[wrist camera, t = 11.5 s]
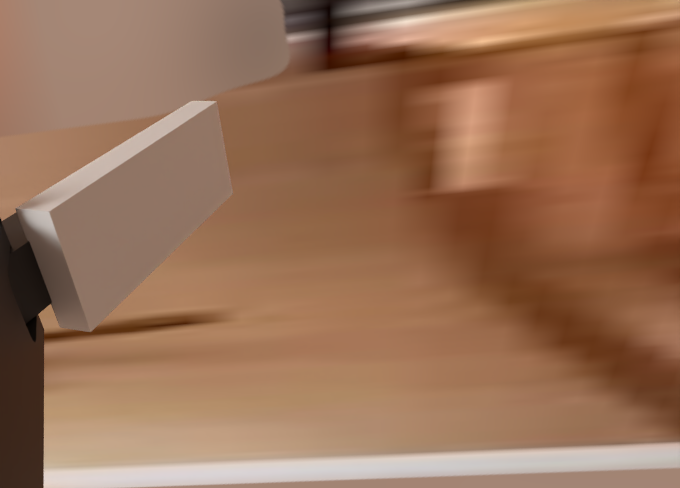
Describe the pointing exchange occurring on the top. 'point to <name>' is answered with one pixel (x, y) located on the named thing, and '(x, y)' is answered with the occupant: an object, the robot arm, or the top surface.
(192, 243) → the top surface
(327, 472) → the top surface
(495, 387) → the top surface
